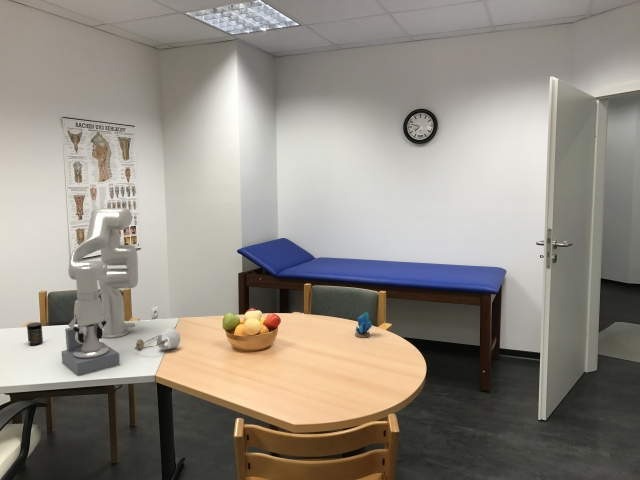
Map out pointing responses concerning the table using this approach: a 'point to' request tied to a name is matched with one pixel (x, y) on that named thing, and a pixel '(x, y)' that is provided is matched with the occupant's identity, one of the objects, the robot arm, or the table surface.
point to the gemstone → (363, 326)
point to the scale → (86, 364)
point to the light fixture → (170, 333)
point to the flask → (91, 340)
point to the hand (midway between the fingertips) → (90, 339)
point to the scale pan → (82, 354)
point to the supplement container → (35, 334)
